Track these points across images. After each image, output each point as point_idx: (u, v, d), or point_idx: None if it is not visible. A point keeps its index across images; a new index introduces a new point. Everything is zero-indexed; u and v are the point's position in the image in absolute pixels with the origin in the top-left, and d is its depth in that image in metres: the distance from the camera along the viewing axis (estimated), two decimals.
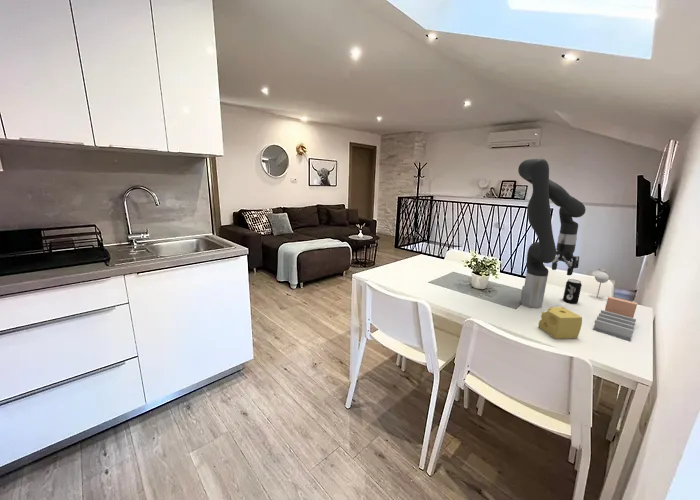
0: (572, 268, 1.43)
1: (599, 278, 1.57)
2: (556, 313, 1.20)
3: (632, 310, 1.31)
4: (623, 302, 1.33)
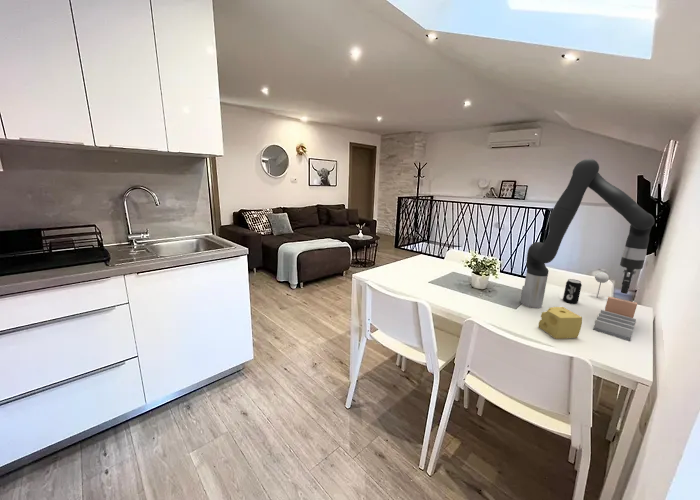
0: None
1: (599, 278, 1.57)
2: (556, 313, 1.20)
3: (632, 310, 1.31)
4: (623, 302, 1.33)
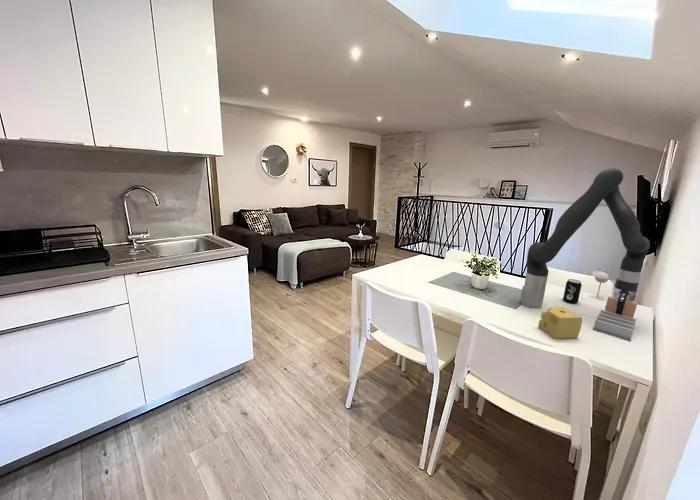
0: None
1: (599, 278, 1.57)
2: (556, 313, 1.20)
3: (632, 310, 1.31)
4: None
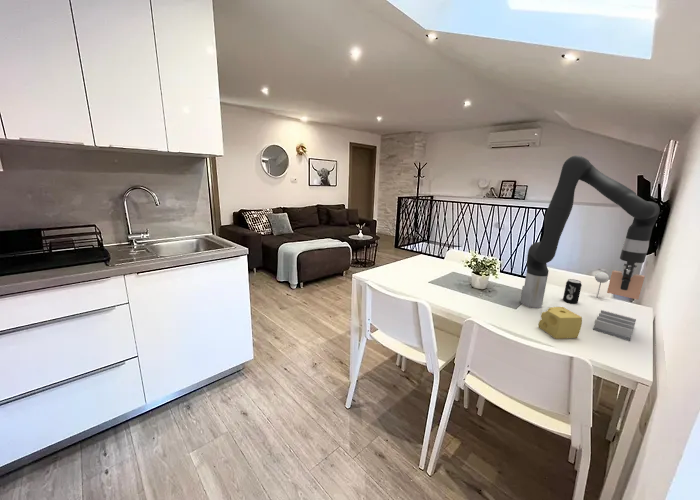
0: None
1: (599, 278, 1.57)
2: (556, 313, 1.20)
3: (639, 283, 1.19)
4: None
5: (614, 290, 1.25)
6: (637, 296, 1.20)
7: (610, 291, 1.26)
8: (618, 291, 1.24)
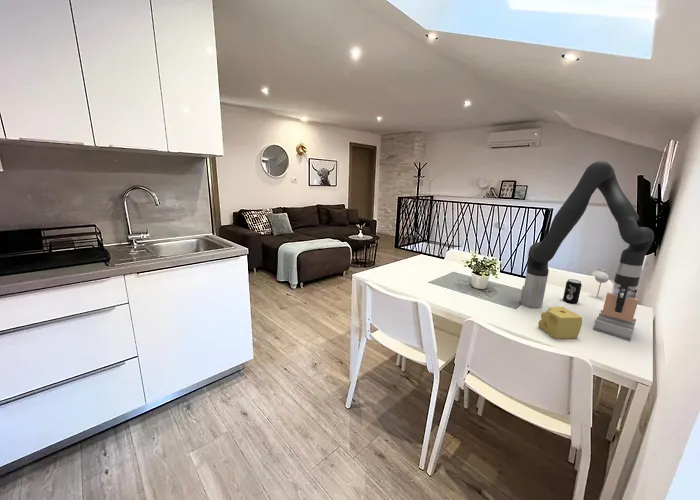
0: None
1: (599, 278, 1.57)
2: (556, 313, 1.20)
3: (632, 306, 1.21)
4: None
5: (609, 312, 1.27)
6: (631, 319, 1.22)
7: (605, 313, 1.28)
8: (612, 313, 1.26)
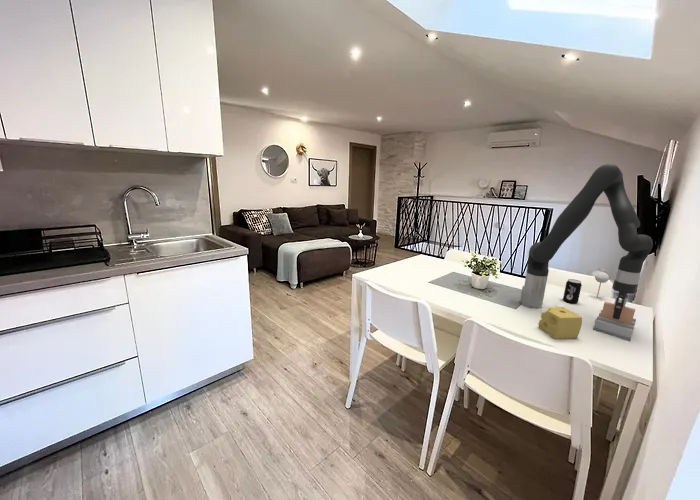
0: None
1: (599, 278, 1.57)
2: (556, 313, 1.20)
3: (629, 316, 1.22)
4: (620, 308, 1.24)
5: None
6: None
7: None
8: None
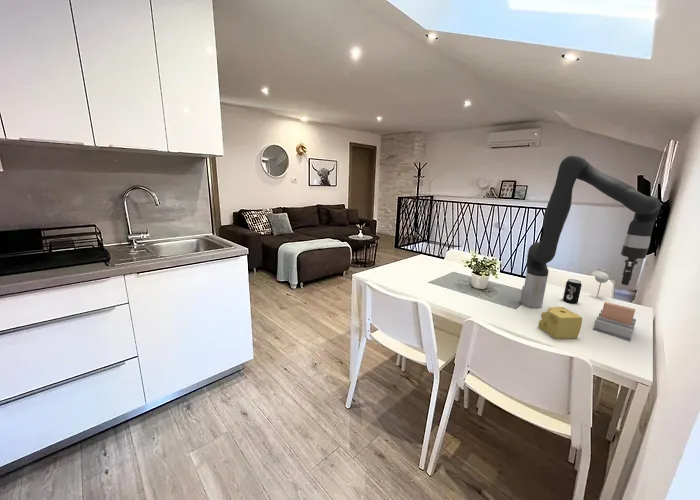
0: (629, 271, 1.25)
1: (599, 278, 1.57)
2: (556, 313, 1.20)
3: (629, 316, 1.22)
4: (620, 308, 1.24)
5: None
6: None
7: None
8: None
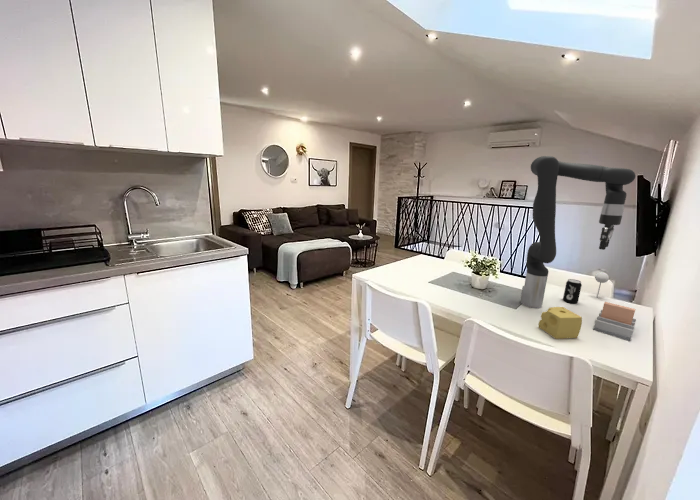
0: None
1: (599, 278, 1.57)
2: (556, 313, 1.20)
3: (629, 316, 1.22)
4: (620, 308, 1.24)
5: None
6: None
7: None
8: None
